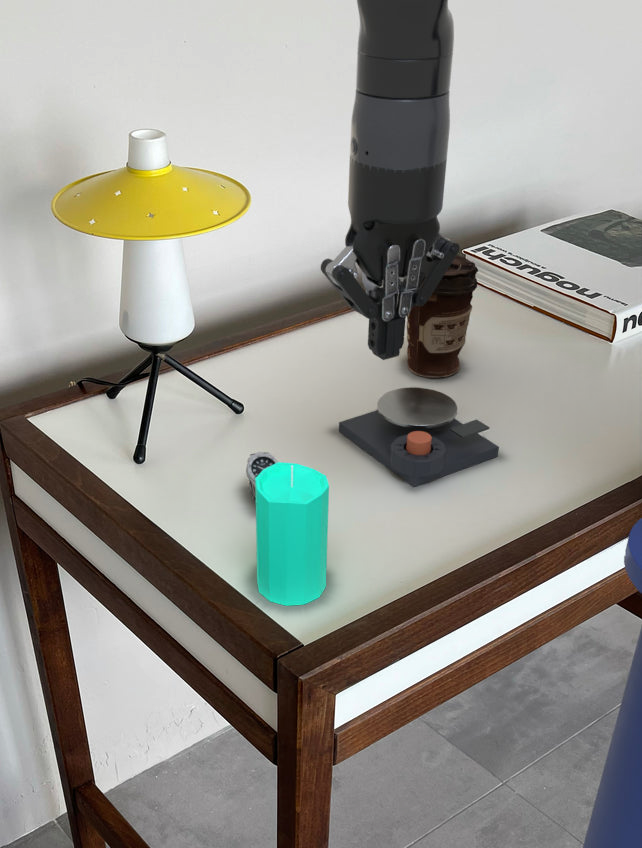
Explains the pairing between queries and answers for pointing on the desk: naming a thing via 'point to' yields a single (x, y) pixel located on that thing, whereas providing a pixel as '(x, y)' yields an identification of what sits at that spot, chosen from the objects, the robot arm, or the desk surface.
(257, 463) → the wristwatch
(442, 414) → the scale pan
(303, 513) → the candle
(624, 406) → the desk surface
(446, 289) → the coffee cup
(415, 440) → the tare button
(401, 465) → the scale
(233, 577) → the desk surface
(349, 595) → the desk surface
